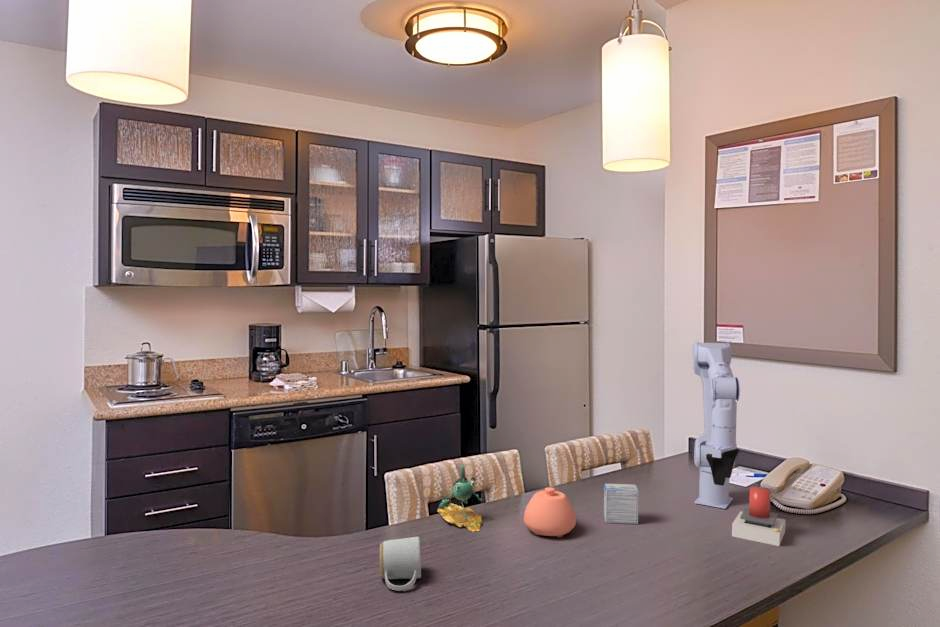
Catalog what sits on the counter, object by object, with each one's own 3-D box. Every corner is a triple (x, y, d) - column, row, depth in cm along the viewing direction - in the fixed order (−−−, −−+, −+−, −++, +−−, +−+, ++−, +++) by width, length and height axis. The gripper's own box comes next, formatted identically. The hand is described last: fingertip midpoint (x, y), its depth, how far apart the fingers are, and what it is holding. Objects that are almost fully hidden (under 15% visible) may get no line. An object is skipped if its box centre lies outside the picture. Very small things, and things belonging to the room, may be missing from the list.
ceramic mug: (379, 569, 129) (379, 532, 129) (420, 567, 130) (420, 530, 130) (379, 595, 119) (379, 555, 118) (422, 592, 120) (423, 553, 120)
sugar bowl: (519, 538, 146) (520, 494, 146) (528, 517, 160) (529, 476, 159) (573, 543, 143) (574, 498, 143) (578, 521, 157) (578, 480, 156)
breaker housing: (740, 523, 156) (740, 508, 156) (785, 532, 151) (785, 517, 151) (731, 536, 148) (732, 521, 148) (779, 546, 142) (779, 530, 142)
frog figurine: (462, 505, 168) (466, 452, 166) (494, 537, 152) (499, 478, 150) (429, 510, 164) (432, 455, 162) (458, 543, 148) (462, 482, 146)
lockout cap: (748, 510, 152) (749, 485, 152) (769, 513, 150) (769, 488, 150) (749, 516, 148) (749, 491, 148) (769, 519, 146) (770, 493, 146)
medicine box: (635, 518, 159) (636, 484, 159) (638, 524, 155) (639, 489, 154) (603, 517, 160) (603, 483, 160) (605, 523, 156) (606, 488, 155)
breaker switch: (745, 522, 154) (746, 507, 154) (777, 528, 150) (777, 513, 150) (740, 531, 148) (740, 516, 148) (773, 538, 144) (773, 522, 144)
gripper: (713, 419, 164) (712, 471, 164) (699, 428, 152) (698, 485, 152) (742, 422, 160) (741, 476, 160) (730, 432, 148) (729, 490, 148)
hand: (722, 480), depth 156 cm, fingers open, 7 cm apart
